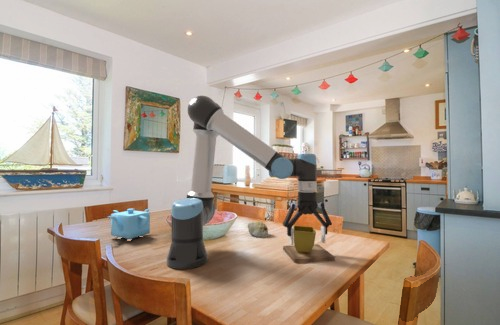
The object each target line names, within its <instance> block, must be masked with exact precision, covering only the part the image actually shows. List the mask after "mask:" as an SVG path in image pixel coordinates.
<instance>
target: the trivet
mask: <svg viewBox="0 0 500 325" xmlns="http://www.w3.org/2000/svg"><path fill="white" fill-rule="evenodd" d="M282 250H283V251H284V252H285V253H286V255H287V256H288V257H289V258H290V259H291V260H292V262H293V263H294V264H302V263H317V262H334V261H336V256H334V255H333V254H332V253H331V252H329V251H328V250H327V249H326V248H324V247H323V246H321V245H320V244H318V243H317V244H315V243H314V246H313V248H312V250H311V251H310V252H309V253H307V252H298V251H296V248H295V245H284V246H282Z"/></svg>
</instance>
